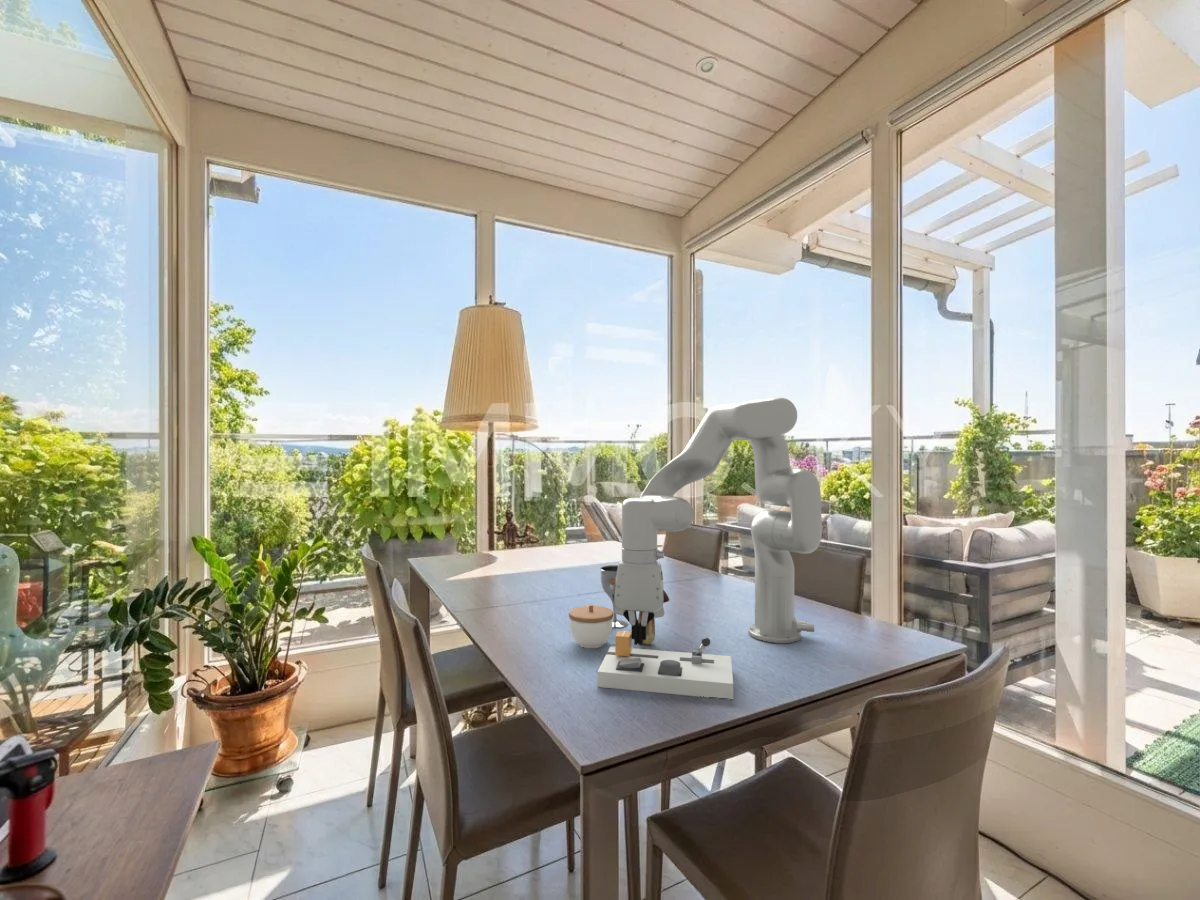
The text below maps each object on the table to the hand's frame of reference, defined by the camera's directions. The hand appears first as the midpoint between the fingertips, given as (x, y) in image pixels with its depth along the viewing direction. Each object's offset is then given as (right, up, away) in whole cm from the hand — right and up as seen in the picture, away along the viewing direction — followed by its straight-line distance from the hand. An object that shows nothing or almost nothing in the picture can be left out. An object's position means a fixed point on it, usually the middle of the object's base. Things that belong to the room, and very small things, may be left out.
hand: (638, 642), depth 115 cm
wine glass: (-4, -6, +31) cm, 31 cm away
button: (+6, -5, -8) cm, 11 cm away
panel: (+5, -6, -4) cm, 9 cm away
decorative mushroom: (+3, -6, +16) cm, 17 cm away
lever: (+12, -2, -2) cm, 12 cm away
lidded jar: (-10, -6, +16) cm, 20 cm away
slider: (-3, -2, +1) cm, 4 cm away
